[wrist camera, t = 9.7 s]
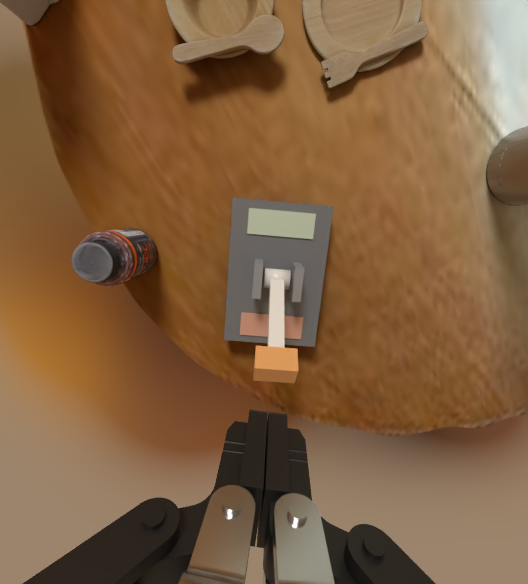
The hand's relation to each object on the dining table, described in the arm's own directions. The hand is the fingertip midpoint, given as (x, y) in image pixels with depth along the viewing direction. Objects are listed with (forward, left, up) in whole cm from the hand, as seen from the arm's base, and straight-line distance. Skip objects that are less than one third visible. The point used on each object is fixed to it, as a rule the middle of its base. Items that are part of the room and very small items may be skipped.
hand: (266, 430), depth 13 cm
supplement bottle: (+16, -5, -31) cm, 36 cm away
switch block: (-2, -1, -31) cm, 31 cm away
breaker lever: (-2, -1, -27) cm, 28 cm away
